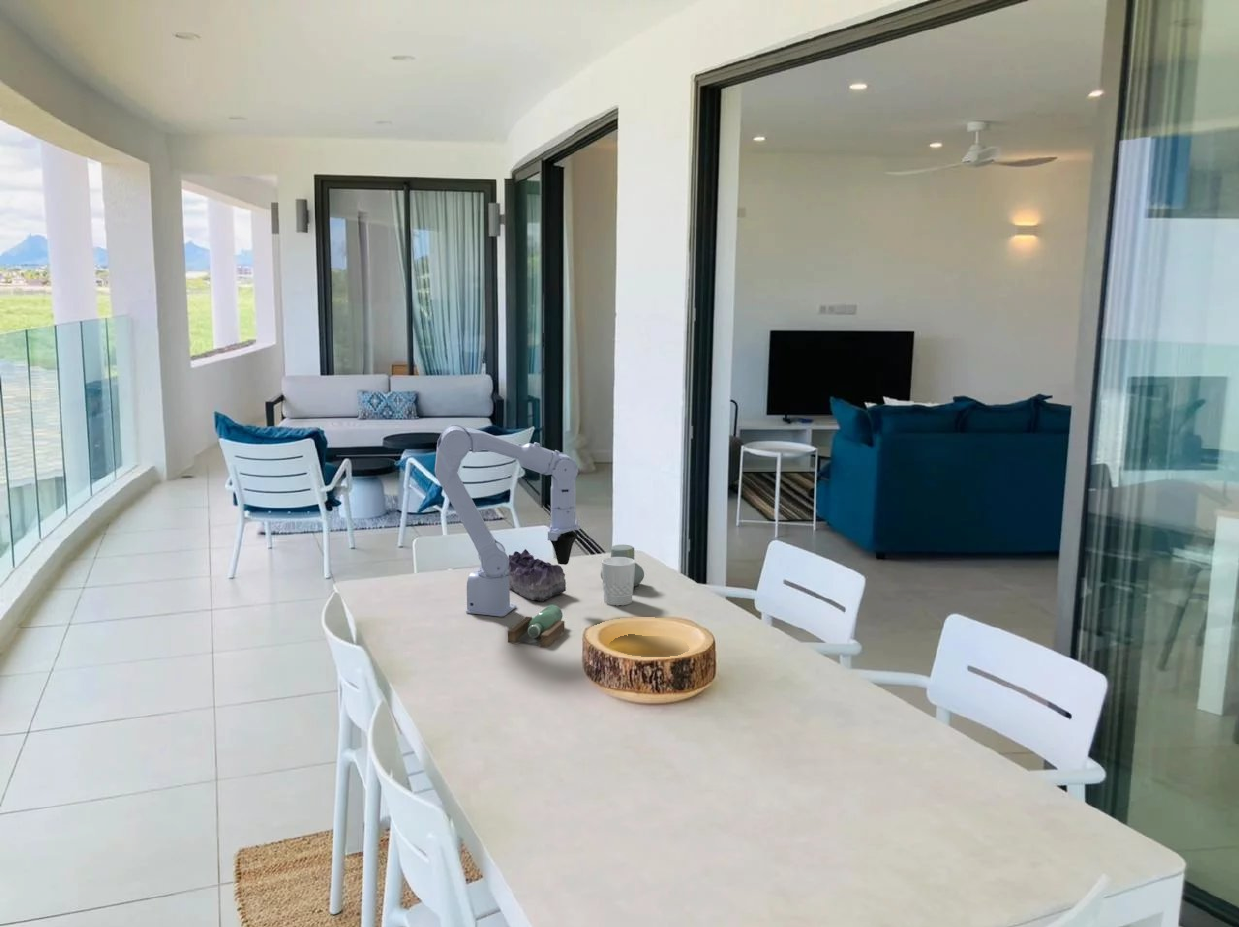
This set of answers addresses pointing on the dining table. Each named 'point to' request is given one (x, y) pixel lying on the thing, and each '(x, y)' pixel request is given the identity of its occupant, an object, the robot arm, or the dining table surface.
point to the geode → (535, 577)
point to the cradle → (547, 638)
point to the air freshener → (628, 553)
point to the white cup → (618, 580)
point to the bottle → (544, 620)
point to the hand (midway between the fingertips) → (563, 563)
